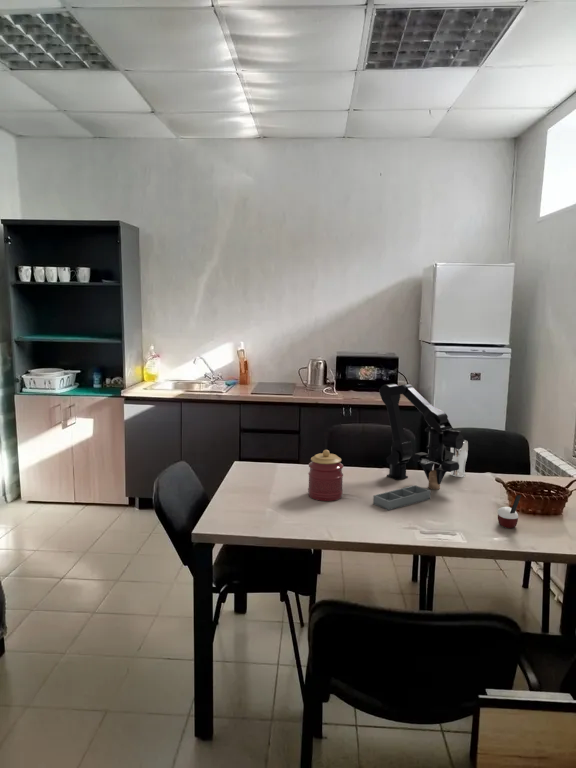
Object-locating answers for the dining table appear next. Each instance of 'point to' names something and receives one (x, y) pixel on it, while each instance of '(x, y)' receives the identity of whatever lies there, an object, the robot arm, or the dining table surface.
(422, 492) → the grey compartment tray
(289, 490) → the dining table surface
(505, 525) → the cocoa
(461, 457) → the beer glass
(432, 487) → the brown rounded cylinder
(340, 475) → the canister
